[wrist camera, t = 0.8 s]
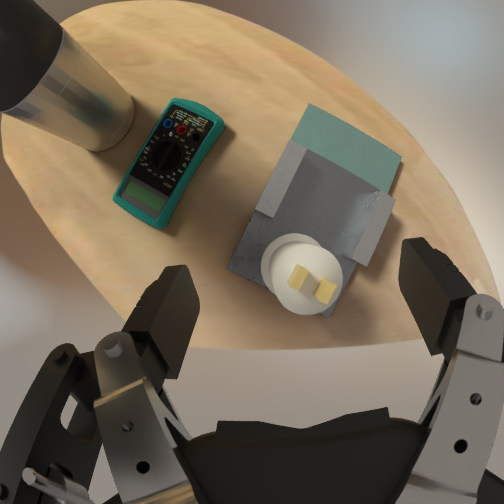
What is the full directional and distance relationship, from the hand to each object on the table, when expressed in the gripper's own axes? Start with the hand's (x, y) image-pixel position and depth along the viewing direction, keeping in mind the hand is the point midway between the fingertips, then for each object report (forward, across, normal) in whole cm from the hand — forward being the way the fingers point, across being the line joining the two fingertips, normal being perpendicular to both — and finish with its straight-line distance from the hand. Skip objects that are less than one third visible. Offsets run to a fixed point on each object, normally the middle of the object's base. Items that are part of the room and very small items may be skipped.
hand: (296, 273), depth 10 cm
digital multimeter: (+23, +13, -2) cm, 27 cm away
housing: (+22, -4, +6) cm, 23 cm away
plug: (+18, +1, +11) cm, 21 cm away
